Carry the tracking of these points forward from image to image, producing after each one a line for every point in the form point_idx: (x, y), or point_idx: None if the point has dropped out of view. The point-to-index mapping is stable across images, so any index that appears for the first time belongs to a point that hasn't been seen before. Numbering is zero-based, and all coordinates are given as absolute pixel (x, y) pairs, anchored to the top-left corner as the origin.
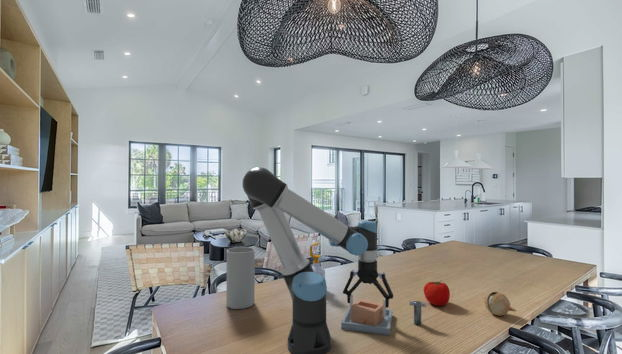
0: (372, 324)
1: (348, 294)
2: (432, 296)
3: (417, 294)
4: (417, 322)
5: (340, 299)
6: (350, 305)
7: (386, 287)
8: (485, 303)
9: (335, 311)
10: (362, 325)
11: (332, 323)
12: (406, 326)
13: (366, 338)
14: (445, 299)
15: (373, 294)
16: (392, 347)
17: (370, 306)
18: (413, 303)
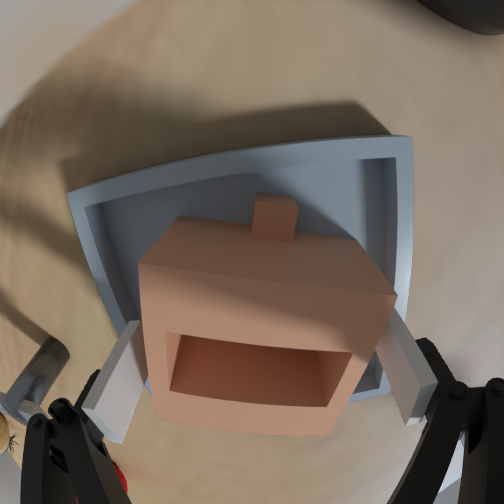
0: (190, 223)
1: (457, 390)
2: None
3: (170, 492)
4: (46, 345)
5: (418, 423)
6: (400, 325)
7: (35, 496)
8: (1, 434)
9: (445, 331)
10: (245, 151)
11: (451, 189)
12: (72, 316)
13: (196, 75)
14: None
15: (297, 482)
16: (54, 73)
17: (244, 385)
18: (21, 407)
